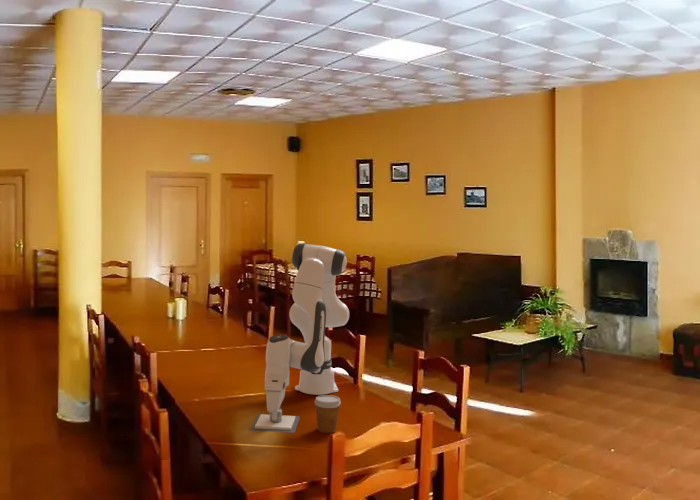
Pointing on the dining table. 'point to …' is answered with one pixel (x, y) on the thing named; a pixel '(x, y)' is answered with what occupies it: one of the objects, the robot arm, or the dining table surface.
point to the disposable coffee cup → (327, 412)
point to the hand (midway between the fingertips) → (275, 416)
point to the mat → (275, 429)
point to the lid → (275, 421)
